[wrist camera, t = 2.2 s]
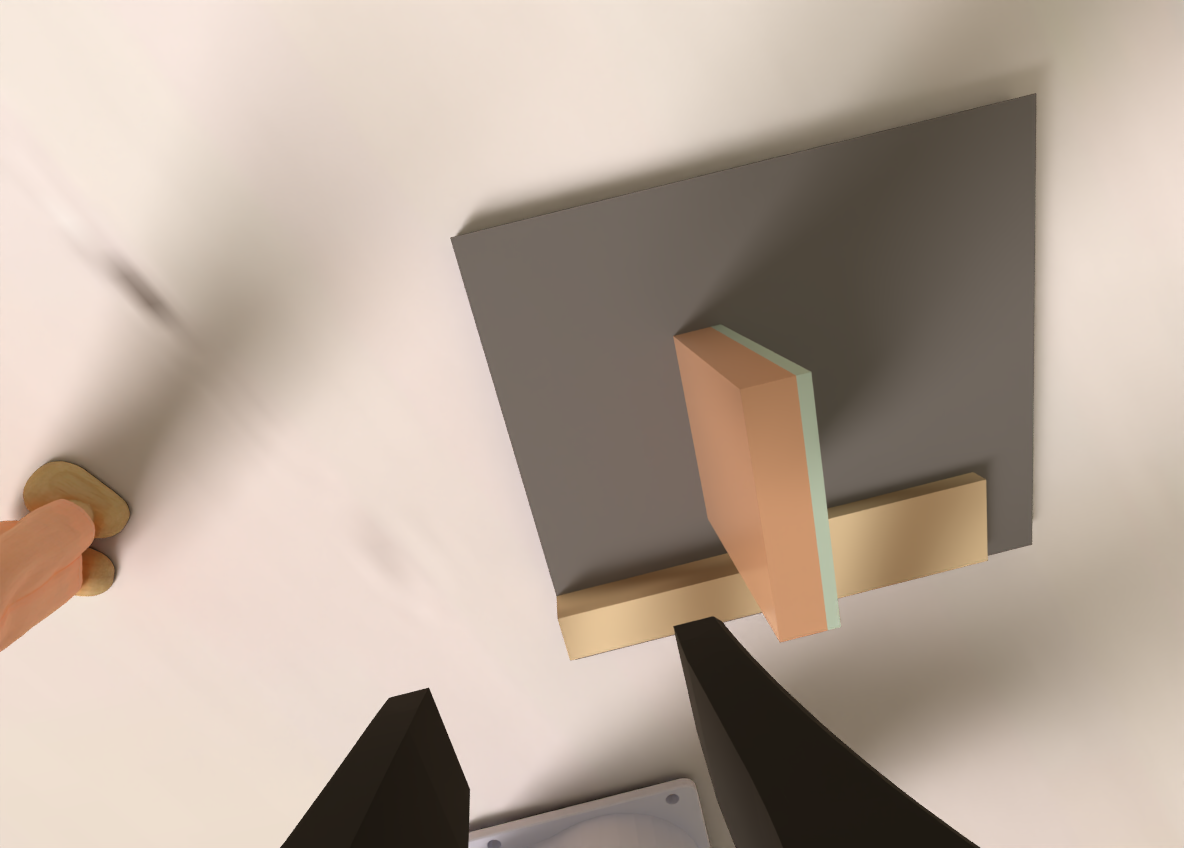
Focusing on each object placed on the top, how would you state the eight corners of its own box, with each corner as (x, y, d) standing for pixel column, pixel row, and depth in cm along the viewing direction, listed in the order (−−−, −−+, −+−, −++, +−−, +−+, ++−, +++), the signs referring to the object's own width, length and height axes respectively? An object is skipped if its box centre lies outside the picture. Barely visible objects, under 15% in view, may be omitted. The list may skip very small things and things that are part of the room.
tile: (707, 518, 19) (780, 642, 13) (673, 336, 17) (740, 389, 11) (750, 508, 19) (841, 626, 13) (720, 324, 17) (811, 371, 11)
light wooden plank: (573, 652, 20) (575, 678, 19) (551, 577, 19) (552, 600, 18) (975, 551, 20) (1001, 570, 19) (973, 472, 19) (1000, 487, 18)
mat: (574, 644, 21) (575, 659, 20) (454, 237, 17) (450, 237, 16) (1014, 533, 21) (1032, 544, 20) (1013, 99, 17) (1036, 93, 16)
